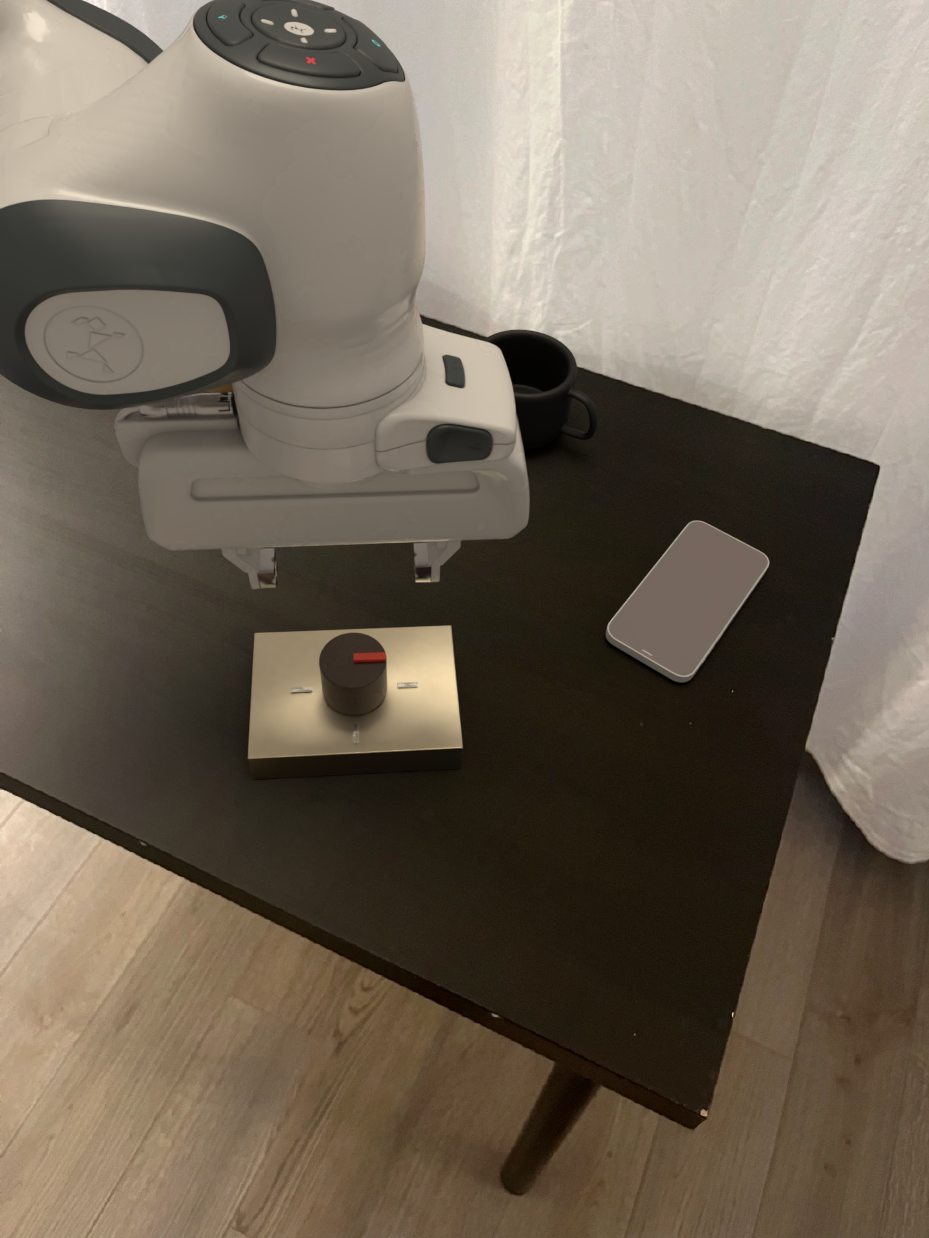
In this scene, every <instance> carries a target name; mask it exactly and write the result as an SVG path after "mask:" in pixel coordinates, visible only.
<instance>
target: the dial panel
mask: <svg viewBox="0 0 929 1238" xmlns="http://www.w3.org/2000/svg"><path fill="white" fill-rule="evenodd" d="M345 633H363V634H366V635H369V636H371V637H373V638H374V639H376V640H377V641H378V642H379V643H380V644H381V645H382V647H383V648H384V650H385V652H386V658H387V693H386V696H385V698H384V700H383V701H382V702H381V704H380V705H379V706H378V707H376V708H375V709H374V710H372V711H370V712H368V713H365V714H361V715H347V714H343V713H340V712H338V711H336V710H334V709H333V708H332V707H331V706H330V705H329V704H328V703H327V702H326V700H325V698H324V696H323V691H322V683H321V675H320V667H319V657H320V653H321V651H322V649H323V648H324V646H325V645H326V644H327V643H328V642H329V641H330V640H331V639H333V638H335V637H336V636H339V635H341V634H345ZM252 655H253V656H252V668H251V686H250V688H251V689H250V705H249V707H250V709H249V725H248V726H249V727H248V729H249V730H248V745H247V761H248V765H249V769H250V773H251V776H252V779H253V780H268V779H269V780H270V779H289V778H307V777H309V778H310V777H325V776H344V775H346V776H347V775H363V774H364V775H365V774H381V773H382V774H383V773H400V772H401V773H402V772H418V771H419V772H420V771H421V772H422V771H436V770H438V771H440V770H457V769H458V770H459V769H462V761H463V751H464V744H463V742H464V741H463V733H462V723H461V712H460V702H459V701H460V700H459V692H458V691H459V690H458V681H457V670H456V660H455V649H454V639H453V629H452V625H450V624H449V625H447V624H445V625H426V626H425V625H422V626H399V627H398V626H397V627H371V628H346V629H320V630H293V631H271V632H270V631H269V632H268V631H267V632H254V634H253V650H252Z"/></svg>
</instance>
